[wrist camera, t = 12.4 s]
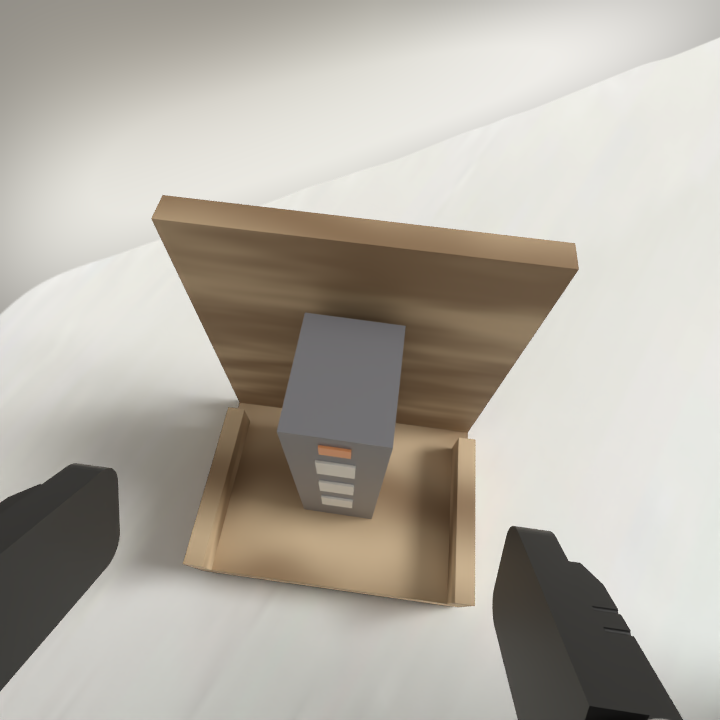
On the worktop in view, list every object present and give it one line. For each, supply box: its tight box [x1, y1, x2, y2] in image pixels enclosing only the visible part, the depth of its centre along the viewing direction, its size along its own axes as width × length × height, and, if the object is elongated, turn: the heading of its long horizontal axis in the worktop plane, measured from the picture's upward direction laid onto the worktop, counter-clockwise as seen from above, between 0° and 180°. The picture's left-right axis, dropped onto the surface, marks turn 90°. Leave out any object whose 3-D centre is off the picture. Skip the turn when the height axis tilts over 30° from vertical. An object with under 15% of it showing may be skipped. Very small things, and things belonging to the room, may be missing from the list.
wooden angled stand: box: [152, 195, 579, 607], centre depth 22 cm, size 11×15×18 cm
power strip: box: [277, 313, 406, 519], centre depth 22 cm, size 5×4×13 cm
